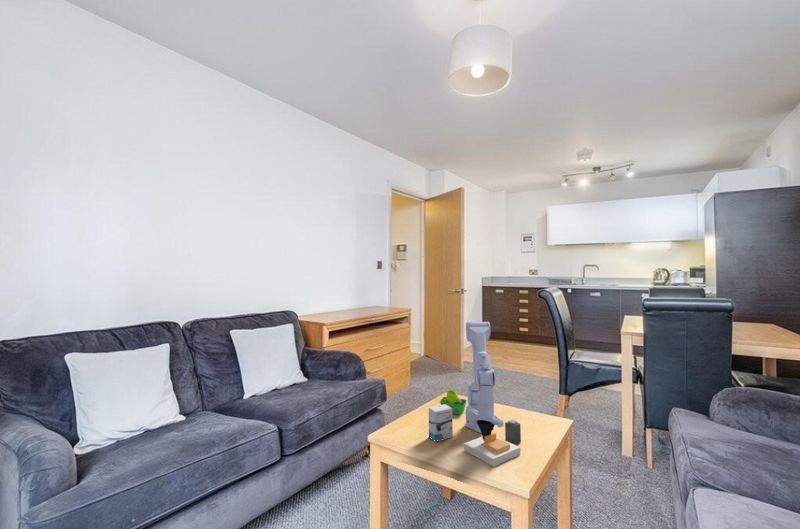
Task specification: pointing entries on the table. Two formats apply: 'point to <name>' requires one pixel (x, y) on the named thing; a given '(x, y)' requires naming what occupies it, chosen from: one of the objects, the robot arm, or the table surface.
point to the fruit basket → (454, 402)
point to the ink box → (440, 422)
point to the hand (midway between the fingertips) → (486, 440)
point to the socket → (487, 455)
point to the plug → (512, 432)
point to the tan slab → (495, 444)
